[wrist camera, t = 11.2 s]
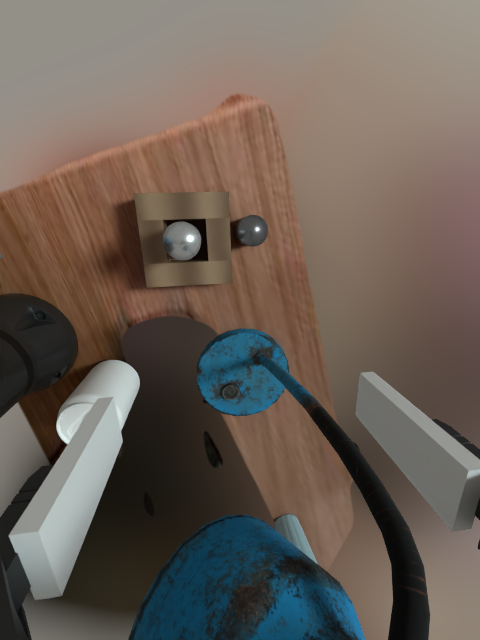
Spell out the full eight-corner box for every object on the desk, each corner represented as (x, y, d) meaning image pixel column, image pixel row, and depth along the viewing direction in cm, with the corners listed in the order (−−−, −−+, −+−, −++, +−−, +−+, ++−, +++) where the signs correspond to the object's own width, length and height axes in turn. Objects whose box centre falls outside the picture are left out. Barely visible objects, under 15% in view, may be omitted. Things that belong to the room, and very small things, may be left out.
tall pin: (175, 252, 41) (165, 261, 30) (172, 224, 40) (160, 222, 29) (202, 251, 42) (202, 259, 30) (200, 223, 41) (199, 220, 29)
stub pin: (235, 245, 42) (238, 247, 37) (233, 217, 41) (237, 215, 36) (260, 244, 42) (267, 245, 38) (260, 216, 41) (267, 214, 37)
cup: (270, 539, 62) (283, 596, 52) (267, 514, 60) (280, 570, 50) (303, 531, 63) (321, 587, 53) (301, 507, 60) (320, 560, 51)
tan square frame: (151, 282, 42) (146, 287, 38) (140, 197, 39) (133, 193, 35) (230, 278, 43) (232, 282, 40) (226, 195, 40) (228, 191, 36)
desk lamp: (158, 398, 48) (-191, 1647, 6) (243, 305, 45) (909, 1571, 2) (227, 442, 53) (320, 1317, 10) (308, 361, 50) (932, 1141, 7)
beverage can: (80, 385, 46) (39, 435, 34) (107, 348, 45) (73, 388, 33) (123, 408, 48) (98, 463, 37) (150, 374, 47) (132, 420, 35)
